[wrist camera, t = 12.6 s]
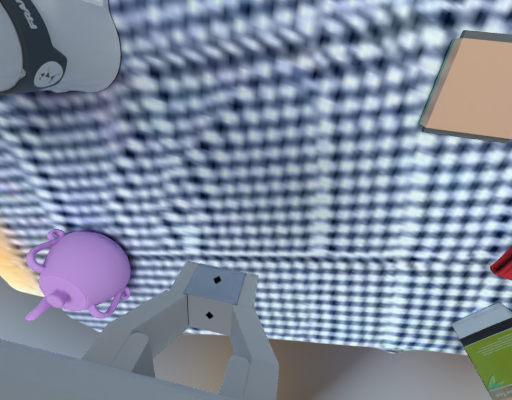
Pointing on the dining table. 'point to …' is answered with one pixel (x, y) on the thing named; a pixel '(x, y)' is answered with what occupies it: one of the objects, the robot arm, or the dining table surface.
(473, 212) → the dining table surface
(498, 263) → the dish drying mat
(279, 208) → the dining table surface
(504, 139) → the mat
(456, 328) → the tea box
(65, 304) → the teapot
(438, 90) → the tile
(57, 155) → the dining table surface
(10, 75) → the robot arm
